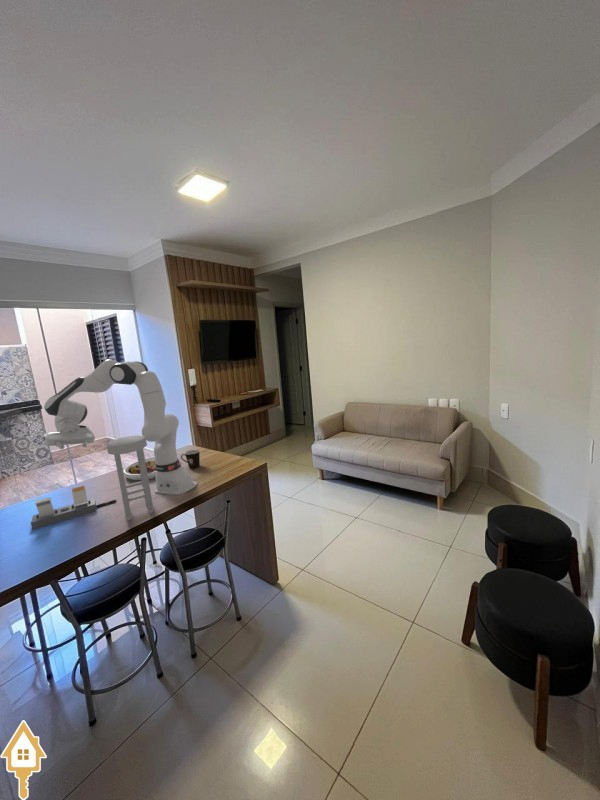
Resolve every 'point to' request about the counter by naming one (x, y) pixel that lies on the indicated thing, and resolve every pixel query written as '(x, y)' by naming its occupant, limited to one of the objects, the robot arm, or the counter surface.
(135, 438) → the stool
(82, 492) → the white upright block
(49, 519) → the power strip
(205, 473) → the counter surface
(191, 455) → the coffee mug
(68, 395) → the robot arm
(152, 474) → the bowl
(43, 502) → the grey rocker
